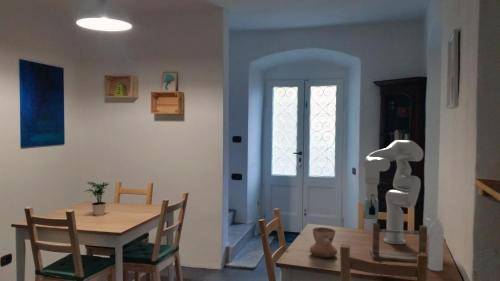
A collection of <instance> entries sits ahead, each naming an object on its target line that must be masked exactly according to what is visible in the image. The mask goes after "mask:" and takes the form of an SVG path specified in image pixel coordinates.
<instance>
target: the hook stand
mask: <svg viewBox="0 0 500 281" xmlns="http://www.w3.org/2000/svg"><path fill="white" fill-rule="evenodd" d="M380 225H381V224H380V223H377V222H375V223H372V245H371V246H372V249H369V253H370V255H371V258H372V260H374V261H375V260H376V261H387V260H396V261H395V262H404V261H407V262H406V263H418V262H417V255H418V254H419V253H421V252H422V253H426V254H427V248H428V247H427V246H428V244H427V243H428V241H427V240H428V239H427V238H428V236H427V235H428V227H427V226H426V225H419V230H404V229H403V230H387V229H382V228H381V229H380ZM386 232H387V233H403V234H409V235H411V234H412V235H418V237H419V239H418V240H419V241H418V252H413V251H394V250H393V251H392V250H380V233H386ZM415 261H416V262H415Z"/></svg>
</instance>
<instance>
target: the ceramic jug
mask: <svg viewBox="0 0 500 281" xmlns="http://www.w3.org/2000/svg"><path fill="white" fill-rule="evenodd" d="M336 232H337V231H336V230H334V229H332V228H329V227H323V226H319V227H318V226H317V227H314V228H312V235H313V238H314V241H315V243H313V244H312V245H311V246H310V248H309V252H310V253H311V255H313V256H314V257H316V258H320V259H330V258H334V257H336V255H337V254H338V249H337V248H336V247H335V245H333V244H332V243H333V241H334V239H335V237H336Z"/></svg>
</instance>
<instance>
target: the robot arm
mask: <svg viewBox="0 0 500 281" xmlns="http://www.w3.org/2000/svg"><path fill="white" fill-rule="evenodd" d="M423 158H424V150H423V149H422V147H421V146H420V145H419V144H417V142H415V141H413V140H405V139H403V140H402V139H397V140H394V141H392V142H391V143H390V144H389V145H388V146H386V148H382V149H379V150H376V151H373V152H371V153H369V154H368V155H367V156H365V158H364V160H363V168H365V169H364V172H365V173H364V184H365V185H366V186H365V187H366V191H365V198H366V199H367V202H370V207H369V215H375V202H376V201H377V199H378V185H379V184H380V172H387V171H388V170H389V169H390V168H391V162H396V171H395V173H394V177H393V182H392V186H393V188H394V189H389V190H388V191H387V192H386V193H385V202H386V230H404V216H405V215H404V211H403V209H402V208H407V209H409V208H410V209H412V208H414V207H415V206H416V204H417V202H418V198H419V194H420V192H421V187H422V186H421V185H422V184H421V182H422V181H421V179H420V178H419V177H418V176H417V175H411V174H412V167H411V165H410V164H409V163H408V162H409V161H410V162H420V161H422V160H423ZM375 200H376V201H375ZM371 201H372V202H371ZM385 233H386V236H385V237H383V241H384V242H385V243H387V244H391V245H404V244H406V239H404V233H387V232H385Z"/></svg>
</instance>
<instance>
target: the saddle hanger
mask: <svg viewBox="0 0 500 281" xmlns="http://www.w3.org/2000/svg"><path fill="white" fill-rule="evenodd" d="M375 201H376V200H375ZM371 202H372V201H371ZM369 207H370V202H367V199H366V197H365V198H364V217H365V218H366V219H379V199H378V198H377V201H376V202H375V215H369Z"/></svg>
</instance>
